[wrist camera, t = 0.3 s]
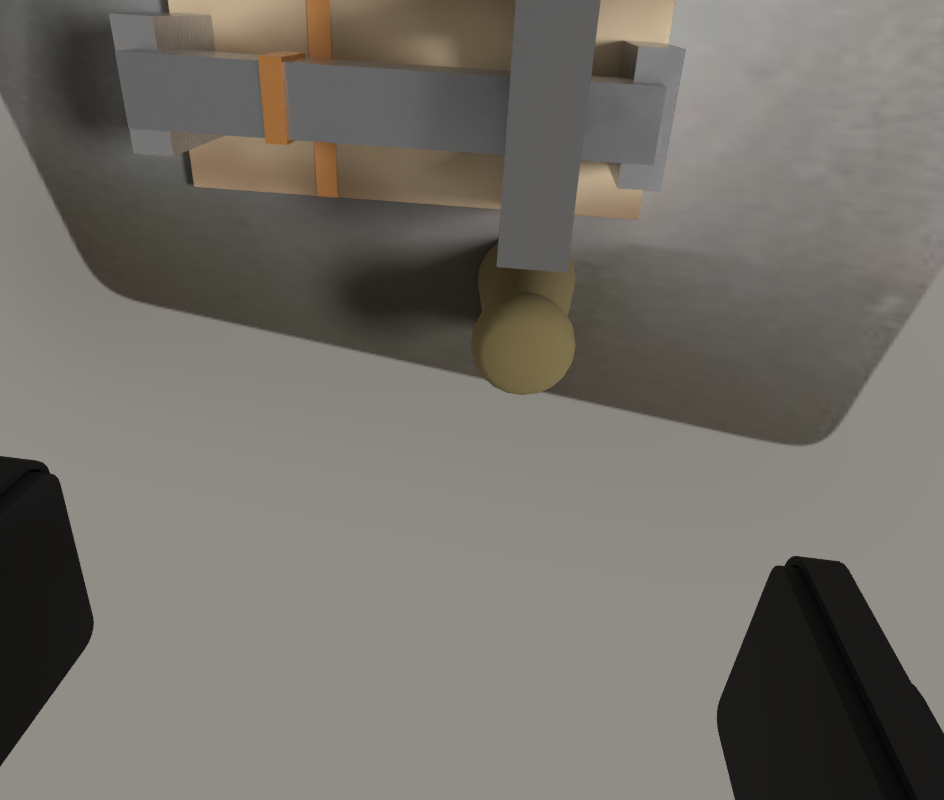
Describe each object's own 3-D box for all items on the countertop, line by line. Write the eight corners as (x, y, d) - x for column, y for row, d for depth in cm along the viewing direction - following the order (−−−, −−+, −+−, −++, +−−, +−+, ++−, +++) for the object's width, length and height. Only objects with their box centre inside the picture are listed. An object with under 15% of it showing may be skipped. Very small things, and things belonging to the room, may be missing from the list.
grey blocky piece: (174, 12, 37) (88, 13, 30) (663, 42, 35) (692, 51, 28) (190, 133, 40) (116, 159, 33) (642, 165, 38) (665, 199, 31)
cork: (479, 326, 45) (462, 413, 35) (475, 233, 42) (456, 300, 32) (574, 326, 44) (583, 414, 35) (577, 232, 41) (588, 299, 32)
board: (167, -55, 36) (159, -56, 35) (677, -26, 35) (680, -26, 34) (199, 183, 42) (193, 186, 41) (636, 216, 41) (638, 220, 40)
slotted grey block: (524, -24, 34) (518, -36, 24) (586, -20, 34) (604, -31, 24) (507, 204, 39) (496, 267, 30) (560, 208, 39) (566, 272, 30)
